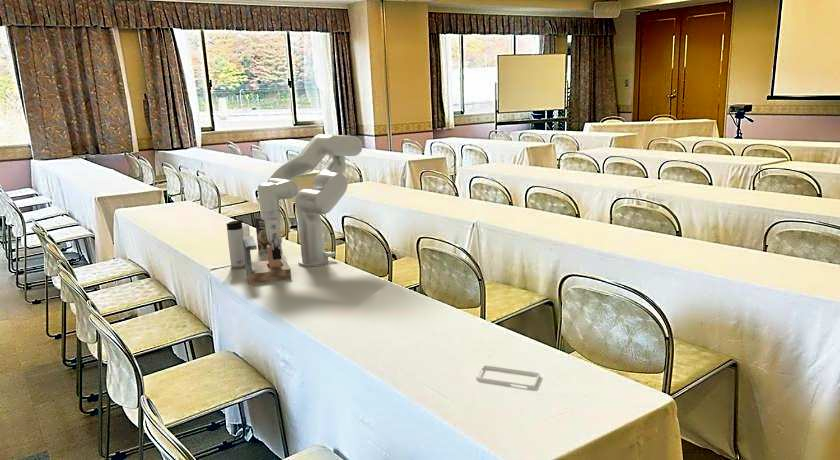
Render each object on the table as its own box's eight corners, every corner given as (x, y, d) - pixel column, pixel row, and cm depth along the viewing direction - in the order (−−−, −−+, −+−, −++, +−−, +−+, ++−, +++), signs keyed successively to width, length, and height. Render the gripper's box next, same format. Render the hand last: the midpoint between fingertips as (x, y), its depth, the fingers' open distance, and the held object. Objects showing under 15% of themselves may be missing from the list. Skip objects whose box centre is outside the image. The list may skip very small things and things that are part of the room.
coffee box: (257, 252, 282) (254, 218, 278) (266, 248, 287) (262, 215, 283) (274, 254, 278) (271, 219, 274) (282, 250, 284) (279, 216, 280)
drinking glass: (255, 257, 274) (252, 224, 270) (245, 261, 268) (241, 227, 265) (243, 255, 277) (240, 223, 273) (233, 260, 271) (229, 226, 267)
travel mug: (243, 269, 257) (238, 222, 252) (228, 268, 258) (223, 222, 253) (249, 264, 263) (245, 219, 258) (235, 264, 264) (230, 218, 259)
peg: (280, 272, 251) (278, 243, 248) (282, 275, 247) (279, 246, 244) (269, 273, 250) (266, 245, 247) (270, 276, 245) (268, 247, 243)
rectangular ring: (540, 377, 158) (483, 369, 163) (540, 372, 158) (483, 364, 163) (534, 391, 151) (475, 382, 157) (534, 386, 151) (475, 377, 156)
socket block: (285, 267, 257) (282, 232, 254) (291, 278, 243) (288, 241, 239) (246, 272, 252) (242, 237, 248) (249, 284, 237) (245, 246, 234)
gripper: (283, 217, 236) (288, 260, 240) (277, 208, 252) (282, 248, 256) (263, 220, 233) (268, 263, 238) (258, 211, 249) (263, 251, 254)
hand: (275, 255), depth 247 cm, fingers open, 9 cm apart
